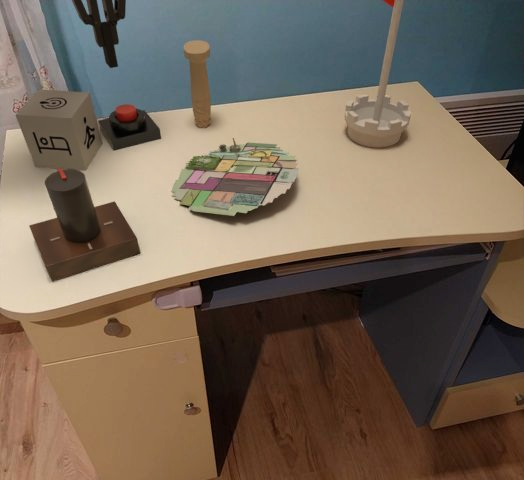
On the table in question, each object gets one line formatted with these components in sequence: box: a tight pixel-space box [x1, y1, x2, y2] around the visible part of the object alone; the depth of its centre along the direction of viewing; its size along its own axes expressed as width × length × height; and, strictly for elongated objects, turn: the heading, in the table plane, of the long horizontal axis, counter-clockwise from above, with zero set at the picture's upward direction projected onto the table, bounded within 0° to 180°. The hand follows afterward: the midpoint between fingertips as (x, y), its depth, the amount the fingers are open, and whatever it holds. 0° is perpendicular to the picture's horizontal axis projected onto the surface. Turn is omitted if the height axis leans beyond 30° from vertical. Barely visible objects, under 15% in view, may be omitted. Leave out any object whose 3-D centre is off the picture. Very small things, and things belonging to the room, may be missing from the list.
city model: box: [170, 137, 300, 217], centre depth 90 cm, size 25×24×6 cm
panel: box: [28, 201, 141, 282], centre depth 78 cm, size 14×11×3 cm
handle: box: [183, 39, 212, 129], centre depth 99 cm, size 5×6×15 cm
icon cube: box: [15, 88, 104, 171], centre depth 93 cm, size 10×10×10 cm
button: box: [114, 103, 137, 121], centre depth 99 cm, size 4×4×2 cm
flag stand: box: [344, 0, 412, 148], centre depth 92 cm, size 13×13×30 cm
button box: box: [97, 107, 162, 151], centre depth 101 cm, size 9×10×4 cm
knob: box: [44, 168, 101, 243], centre depth 74 cm, size 6×6×9 cm
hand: (111, 64), depth 91 cm, fingers closed
